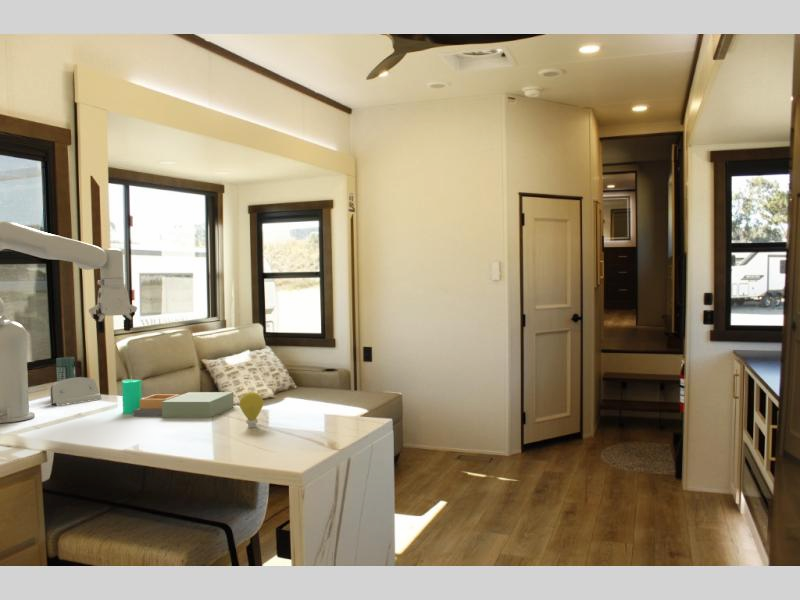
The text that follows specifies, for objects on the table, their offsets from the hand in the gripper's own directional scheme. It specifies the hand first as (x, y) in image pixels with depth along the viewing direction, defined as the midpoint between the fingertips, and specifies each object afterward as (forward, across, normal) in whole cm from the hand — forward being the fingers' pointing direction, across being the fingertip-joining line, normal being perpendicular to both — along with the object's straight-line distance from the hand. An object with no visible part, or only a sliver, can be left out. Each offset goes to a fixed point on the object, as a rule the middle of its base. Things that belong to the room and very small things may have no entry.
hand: (114, 331), depth 233 cm
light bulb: (+26, +1, -73) cm, 78 cm away
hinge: (+26, -5, +20) cm, 33 cm away
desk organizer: (+26, +4, -35) cm, 44 cm away
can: (+26, -2, +34) cm, 43 cm away
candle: (+26, -5, -19) cm, 33 cm away
